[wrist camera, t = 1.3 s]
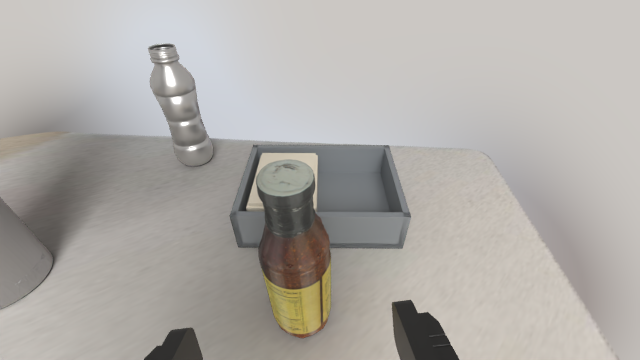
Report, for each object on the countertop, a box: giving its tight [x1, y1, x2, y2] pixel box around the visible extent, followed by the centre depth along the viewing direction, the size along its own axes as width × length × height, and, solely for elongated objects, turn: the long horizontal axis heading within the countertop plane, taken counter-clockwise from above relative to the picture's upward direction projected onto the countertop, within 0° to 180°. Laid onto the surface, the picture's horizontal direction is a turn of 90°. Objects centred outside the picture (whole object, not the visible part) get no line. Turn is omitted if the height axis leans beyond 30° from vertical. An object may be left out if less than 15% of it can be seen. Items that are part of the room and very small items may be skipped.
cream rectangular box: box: [246, 153, 318, 212], centre depth 44 cm, size 9×12×5 cm
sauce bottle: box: [256, 159, 331, 338], centre depth 27 cm, size 6×6×20 cm
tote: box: [230, 145, 411, 248], centre depth 44 cm, size 22×16×6 cm
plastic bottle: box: [148, 44, 213, 166], centre depth 50 cm, size 6×7×20 cm
